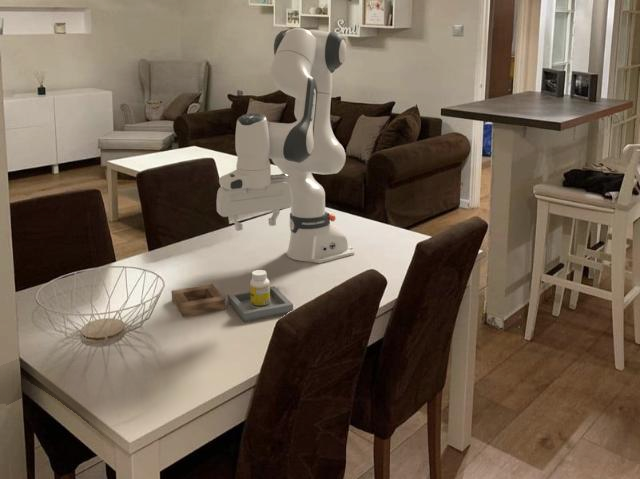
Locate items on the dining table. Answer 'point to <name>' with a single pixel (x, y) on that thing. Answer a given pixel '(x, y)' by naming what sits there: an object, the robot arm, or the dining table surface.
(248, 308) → the charcoal tray
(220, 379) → the dining table surface
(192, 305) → the walnut collar
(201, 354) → the dining table surface
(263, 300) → the supplement bottle
